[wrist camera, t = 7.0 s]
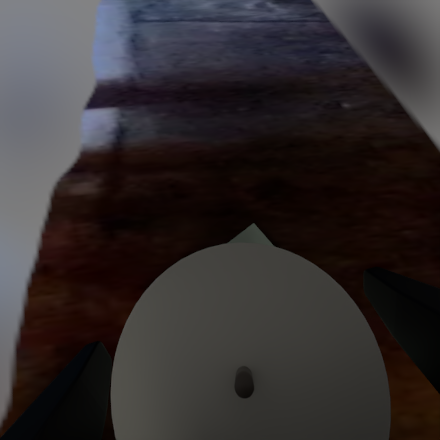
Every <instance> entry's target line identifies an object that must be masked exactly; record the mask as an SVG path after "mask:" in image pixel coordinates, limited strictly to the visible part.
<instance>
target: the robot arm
mask: <svg viewBox="0 0 440 440" xmlns="http://www.w3.org/2000/svg"><path fill="white" fill-rule="evenodd" d="M364 292H365V295H366V296H367V298H368V299H369V301H370V302H371V304H372V305H373V307H374V308H375V310H376V312H377V313H378V315H379V316H380V318H381V319H382V321H383V322H384V324H385V325H386V327H387V328H388V330H389V331H390V333H391V334H392V335H393V337H394V338H395V339H396V341H397V342H398V343H399V345H400V346H401V347H402V348H403V349H404V351H405V352H406V353H407V354H408V356H409V357H410V358H411V359H412V361H413V362H414V363H415V364H416V365H417V367H418V368H419V369H420V370H421V372H422V373H423V374H424V375H425V377H426V378H427V379H428V380H429V381H430V383H431V384H432V385H433V386H434V388H435V389H436V390H437V391H438V393H439V394H440V289H439V288H436V287H434V286H431V285H428V284H425V283H422V282H419V281H417V280H414V279H411V278H408V277H405V276H402V275H400V274H397V273H394V272H391V271H388V270H385V269H383V268H380V267H373V268H369V269H366V270H365V271H364ZM111 366H112V361H111V357H110V355H109V354H108V352H107V350H106V349H105V347H104V345H103V344H102V343H101V342H100V341H97V342H93V343H89V344H87V345H86V346H85V347H84V348H83V349H82V350H81V351H80V352H79V353H78V354H77V355H76V356H75V357H74V358H73V360H72V361H71V362H70V363H69V364H68V365H67V366H66V367H65V368H64V369H63V370H62V372H61V373H60V374H59V375H58V376H57V377H56V378H55V379H54V380H53V381H52V382H51V383H50V385H49V386H48V387H47V388H46V389H45V390H44V391H43V392H42V393H41V394H40V395H39V396H38V398H37V399H36V400H35V401H34V402H33V403H32V404H31V405H30V406H29V407H28V408H27V410H26V411H25V412H24V413H23V414H22V415H21V416H20V417H19V418H18V419H17V420H16V421H15V423H14V424H13V425H12V426H11V427H10V428H9V429H8V430H7V431H6V432H5V433H4V434H3V436H2V437H1V438H0V440H101V439H102V434H103V429H104V424H105V418H106V412H107V404H108V395H109V385H110V375H111Z"/></svg>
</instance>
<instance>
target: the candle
mask: <svg viewBox="0 0 440 440" xmlns="http://www.w3.org/2000/svg"><path fill="white" fill-rule="evenodd" d="M111 412H112V420H113V426H114V432H115V438H116V440H389V432H390V422H391V410H390V393H389V385H388V378H387V373H386V370H385V366H384V362H383V358H382V355H381V352H380V349H379V347H378V344H377V342H376V339H375V336H374V334H373V332H372V330H371V329H370V327H369V325H368V323H367V321H366V319H365V317H364V316H363V314H362V313H361V311H360V310H359V308H358V307H357V305H356V304H355V302H354V301H353V300H352V299H351V297H350V296H349V295H348V294H347V293H346V292H345V290H344V289H343V288H342V287H341V286H340V285H339V284H338V283H337V282H336V281H335V280H334V279H333V278H331V277H330V276H329V275H328V274H327V273H325V272H324V271H323V270H321V269H320V268H319V267H317V266H316V265H315V264H313V263H311V262H309V261H308V260H306V259H304V258H302V257H301V256H299V255H296V254H294V253H292V252H289V251H287V250H284V249H281V248H277V247H274V246H270V245H264V244H258V243H240V242H239V243H229V244H221V245H217V246H213V247H209V248H206V249H203V250H200V251H198V252H195V253H193V254H191V255H189V256H187V257H185V258H183V259H181V260H180V261H178V262H177V263H175V264H174V265H172V266H171V267H170V268H168V269H167V270H166V271H165V272H164V273H162V274H161V275H160V276H159V277H158V278H157V279H156V280H155V281H154V282H153V283H152V284H151V285H150V286H149V288H148V289H147V290H146V291H145V292H144V294H143V295H142V296H141V298H140V299H139V301H138V302H137V304H136V305H135V307H134V309H133V310H132V312H131V314H130V316H129V318H128V320H127V322H126V324H125V327H124V329H123V332H122V334H121V336H120V340H119V343H118V347H117V350H116V354H115V358H114V364H113V370H112V379H111Z"/></svg>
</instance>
